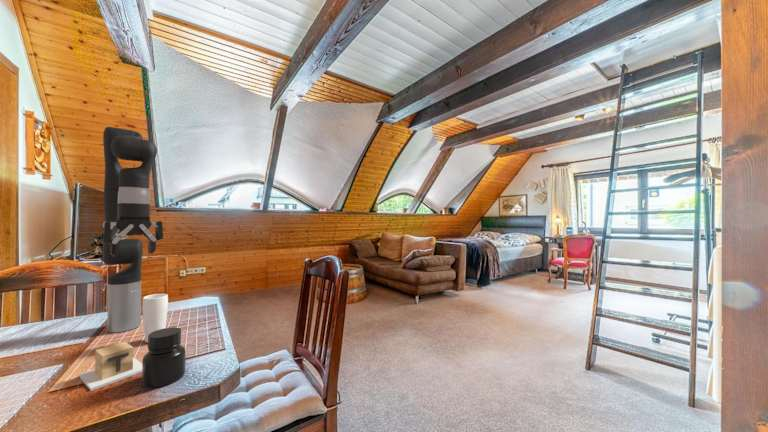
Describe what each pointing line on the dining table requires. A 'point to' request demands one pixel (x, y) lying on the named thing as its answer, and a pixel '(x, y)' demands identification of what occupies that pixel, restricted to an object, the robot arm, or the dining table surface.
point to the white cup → (154, 313)
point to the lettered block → (113, 360)
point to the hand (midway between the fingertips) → (133, 254)
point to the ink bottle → (163, 358)
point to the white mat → (96, 382)
